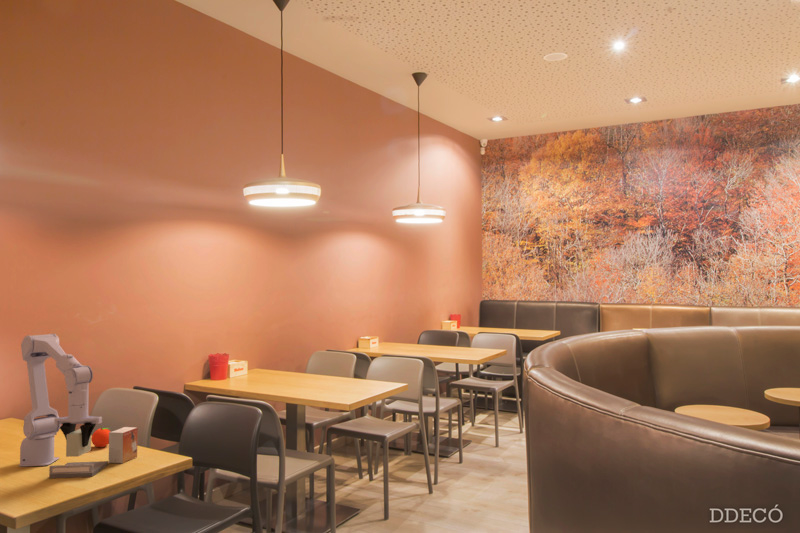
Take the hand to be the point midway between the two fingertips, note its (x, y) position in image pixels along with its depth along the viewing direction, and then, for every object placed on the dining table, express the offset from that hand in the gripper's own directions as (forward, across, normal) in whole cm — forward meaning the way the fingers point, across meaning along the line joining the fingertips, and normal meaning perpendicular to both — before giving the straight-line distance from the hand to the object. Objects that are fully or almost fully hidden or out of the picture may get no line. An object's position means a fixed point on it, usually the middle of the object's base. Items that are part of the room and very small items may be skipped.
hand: (78, 446), depth 182 cm
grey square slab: (+9, 0, -2) cm, 9 cm away
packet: (+2, 0, 0) cm, 3 cm away
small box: (+9, -8, -13) cm, 18 cm away
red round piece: (+9, +8, -30) cm, 32 cm away
